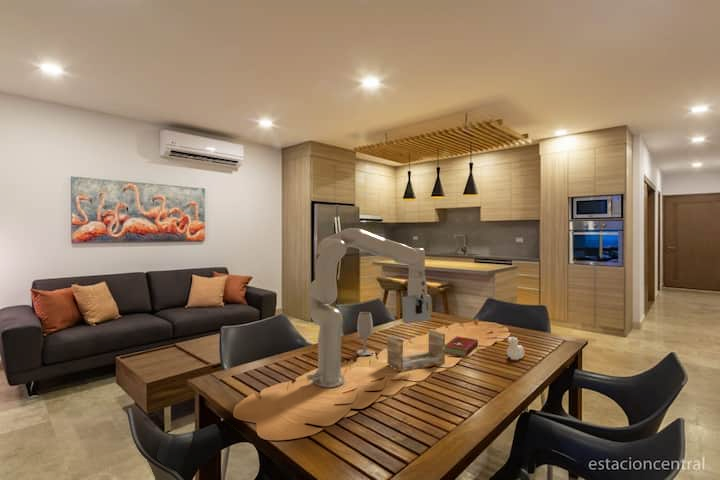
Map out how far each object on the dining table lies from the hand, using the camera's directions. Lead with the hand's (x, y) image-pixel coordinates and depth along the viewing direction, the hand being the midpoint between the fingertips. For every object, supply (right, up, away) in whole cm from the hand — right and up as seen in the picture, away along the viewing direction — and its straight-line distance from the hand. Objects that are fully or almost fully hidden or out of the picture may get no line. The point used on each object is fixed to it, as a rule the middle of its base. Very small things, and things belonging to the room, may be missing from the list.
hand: (416, 312), depth 178 cm
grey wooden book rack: (0, -25, +1) cm, 25 cm away
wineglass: (-24, -25, +15) cm, 38 cm away
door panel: (0, -4, 0) cm, 4 cm away
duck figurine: (+50, -25, +10) cm, 57 cm away
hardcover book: (+27, -25, +23) cm, 44 cm away
